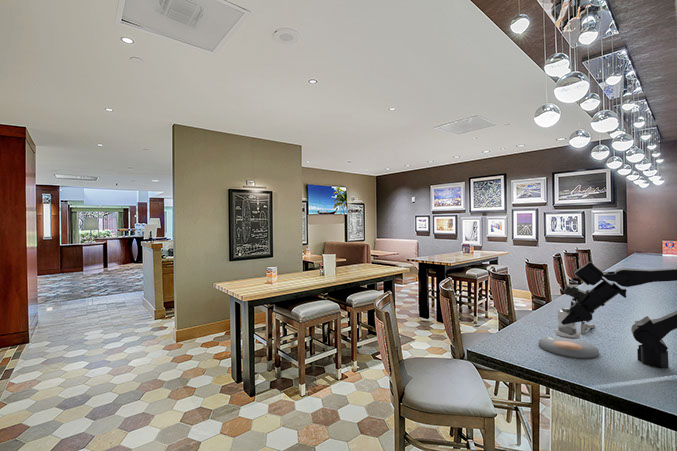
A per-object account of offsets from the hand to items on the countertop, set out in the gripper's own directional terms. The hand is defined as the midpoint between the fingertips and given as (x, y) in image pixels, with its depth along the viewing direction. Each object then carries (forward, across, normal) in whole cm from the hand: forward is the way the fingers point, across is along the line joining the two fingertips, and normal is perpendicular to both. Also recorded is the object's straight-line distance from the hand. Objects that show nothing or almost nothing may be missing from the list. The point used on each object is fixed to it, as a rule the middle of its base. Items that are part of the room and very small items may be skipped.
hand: (562, 321), depth 117 cm
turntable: (+6, 0, +8) cm, 10 cm away
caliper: (+2, -33, +14) cm, 36 cm away
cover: (+2, 0, +4) cm, 5 cm away
